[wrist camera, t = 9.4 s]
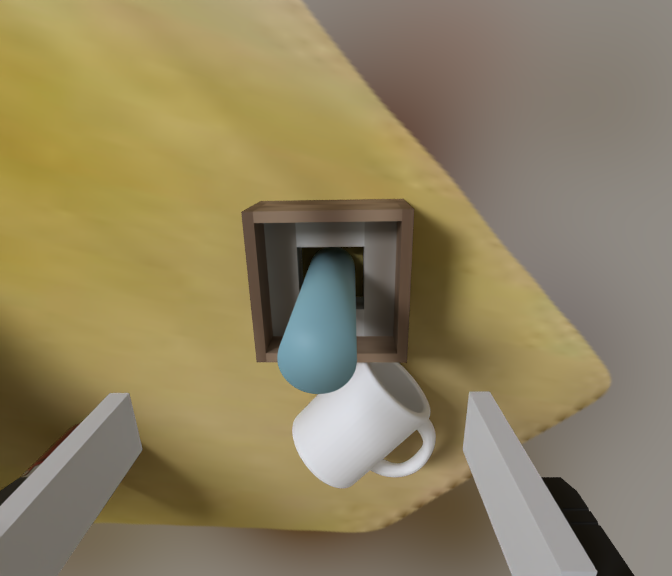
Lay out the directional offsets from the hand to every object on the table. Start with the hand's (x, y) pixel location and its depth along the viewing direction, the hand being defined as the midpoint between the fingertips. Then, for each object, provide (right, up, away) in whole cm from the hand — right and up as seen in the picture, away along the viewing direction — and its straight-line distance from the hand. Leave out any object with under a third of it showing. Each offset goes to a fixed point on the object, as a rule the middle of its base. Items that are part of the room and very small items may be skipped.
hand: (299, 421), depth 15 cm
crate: (+1, +7, +19) cm, 21 cm away
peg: (+1, +7, +19) cm, 21 cm away
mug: (+5, -6, +24) cm, 26 cm away
